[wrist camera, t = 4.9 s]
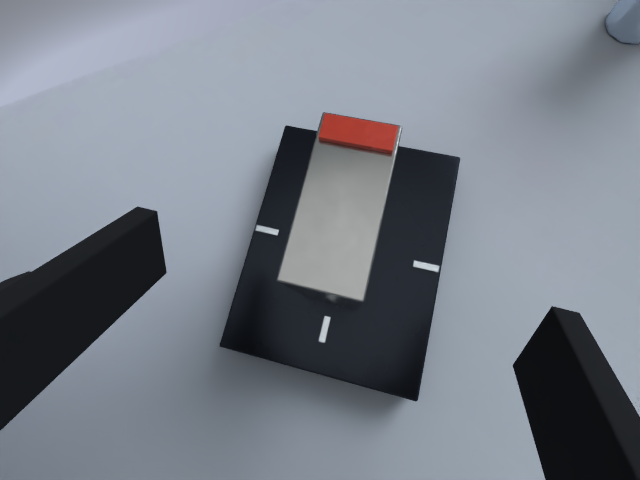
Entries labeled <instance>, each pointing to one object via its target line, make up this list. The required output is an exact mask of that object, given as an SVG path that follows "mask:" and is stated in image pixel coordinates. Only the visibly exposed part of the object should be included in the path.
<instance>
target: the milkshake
mask: <svg viewBox="0 0 640 480" xmlns="http://www.w3.org/2000/svg"><path fill="white" fill-rule="evenodd" d="M605 23H606V26H607V30H608V33H609V34H610V35H612V36H613V37H614V38H616V39H617V40H619V41H620V42H624V43H631V44H639V43H640V0H618V1H617V3H616V4H615V5H614V7H613V8H612V9H611V11H610V13H609V15H608V17H607V18H606V20H605Z"/></svg>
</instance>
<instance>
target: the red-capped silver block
mask: <svg viewBox="0 0 640 480" xmlns="http://www.w3.org/2000/svg"><path fill="white" fill-rule="evenodd" d="M401 132H402V126H399V125H393V124H388V123H382V122H376V121H371V120H365V119H359V118H353V117H348V116H342V115H336V114H331V113H325V112H324V113H323V114H322V117H321V120H320V124H319V128H318V131H317V135H316V139H315V142H314V146H313V149H312V153H311V157H310V160H309V164H308V167H307V171H306V175H305V178H304V182H303V186H302V189H301V193H300V196H299V200H298V204H297V207H296V211H295V214H294V218H293V222H292V225H291V229H290V232H289V236H288V240H287V243H286V247H285V251H284V254H283V258H282V261H281V265H280V269H279V272H278V276H277V281H278V282H280V283H281V284H283V285H285V286H287V287H288V288H290V289H292V290H294V291H295V292H297V293H299V294H301V295H302V296H304V297H306V298H310V299H314V300H318V301H322V302H326V303H330V304H334V305H338V306H342V307H346V308H350V309H354V310H358V308H359V307H360V306H361V305H362V303H363V302H364V301H365V296H366V291H367V287H368V282H369V278H370V273H371V269H372V264H373V260H374V255H375V250H376V246H377V241H378V237H379V232H380V228H381V223H382V218H383V214H384V209H385V205H386V200H387V196H388V191H389V187H390V182H391V177H392V173H393V168H394V164H395V159H396V155H397V150H398V145H399V141H400V136H401Z"/></svg>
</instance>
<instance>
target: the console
mask: <svg viewBox="0 0 640 480" xmlns="http://www.w3.org/2000/svg"><path fill="white" fill-rule="evenodd" d="M316 135H317V131H313V130H307V129H302V128H297V127H291V126H285V129H284V132H283V136H282V139H281V142H280V146H279V149H278V152H277V156H276V159H275V162H274V166H273V169H272V172H271V176H270V179H269V182H268V186H267V189H266V192H265V196H264V199H263V202H262V206H261V209H260V212H259V216H258V219H257V222H256V226H255V229H254V232H253V236H252V239H251V242H250V246H249V249H248V252H247V256H246V259H245V262H244V266H243V269H242V272H241V276H240V279H239V282H238V286H237V289H236V292H235V296H234V299H233V302H232V306H231V309H230V312H229V316H228V319H227V322H226V326H225V329H224V332H223V336H222V339H221V342H220V346H221V347H223V348H227V349H231V350H234V351H238V352H241V353H245V354H249V355H252V356H256V357H259V358H263V359H266V360H270V361H274V362H277V363H281V364H284V365H288V366H291V367H295V368H299V369H302V370H306V371H309V372H313V373H316V374H320V375H324V376H327V377H331V378H334V379H338V380H341V381H345V382H349V383H352V384H356V385H359V386H363V387H366V388H370V389H374V390H377V391H381V392H384V393H388V394H391V395H395V396H399V397H402V398H406V399H409V400H413V401H417V400H418V396H419V390H420V385H421V379H422V373H423V368H424V362H425V356H426V351H427V345H428V339H429V333H430V328H431V322H432V316H433V311H434V305H435V299H436V294H437V288H438V282H439V277H440V271H441V265H442V259H443V254H444V248H445V242H446V237H447V231H448V225H449V220H450V214H451V208H452V203H453V197H454V191H455V185H456V180H457V174H458V168H459V163H460V158H459V157H455V156H449V155H444V154H438V153H433V152H427V151H422V150H416V149H411V148H406V147H400V146H398V150H397V155H396V159H395V164H394V168H393V173H392V177H391V182H390V187H389V191H388V196H387V200H386V205H385V209H384V214H383V218H382V223H381V228H380V232H379V237H378V241H377V246H376V250H375V255H374V260H373V264H372V269H371V273H370V278H369V282H368V287H367V291H366V296H365V301H364V302H363V303H362V305H361V306H360V307H359V308H358V310H354V309H350V308H346V307H342V306H338V305H334V304H330V303H326V302H322V301H318V300H314V299H310V298H306V297H304V296H302V295H301V294H299V293H297V292H295V291H294V290H292V289H290V288H288V287H287V286H285V285H283V284H281V283H280V282H278V281H277V276H278V272H279V269H280V265H281V261H282V258H283V254H284V251H285V247H286V243H287V240H288V236H289V232H290V229H291V225H292V222H293V218H294V214H295V211H296V207H297V204H298V200H299V196H300V193H301V189H302V186H303V182H304V178H305V175H306V171H307V167H308V164H309V160H310V157H311V153H312V149H313V146H314V142H315V139H316Z"/></svg>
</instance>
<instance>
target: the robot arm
mask: <svg viewBox="0 0 640 480" xmlns="http://www.w3.org/2000/svg"><path fill="white" fill-rule="evenodd" d="M165 274H166V266H165V260H164V254H163V247H162V241H161V234H160V228H159V221H158V215H157V211H154V210H149V209H145V208H141V207H136V208H135V209H133V210H131V211H130V212H128V213H126V214H125V215H123V216H122V217H120V218H118V219H117V220H115V221H113V222H112V223H110V224H109V225H107V226H105V227H104V228H102V229H100V230H99V231H97V232H96V233H94V234H92V235H91V236H89V237H87V238H86V239H84V240H83V241H81V242H79V243H78V244H76V245H74V246H73V247H71V248H70V249H68V250H66V251H65V252H63V253H61V254H60V255H58V256H57V257H55V258H53V259H52V260H50V261H49V262H47V263H45V264H44V265H42V266H40V267H39V268H37V269H36V270H34V271H32V272H29V271H28V272H26V273H23V274H20V275H18V276H15V277H12V278H10V279H7V280H4V281H3V282H1V283H0V430H1V429H3V428H4V427H5V426H6V425H7V424H8V423H9V422H10V421H11V420H12V419H13V418H14V417H15V416H16V415H17V414H18V413H19V412H20V411H21V410H23V409H24V408H25V407H26V406H27V405H28V404H29V403H30V402H31V401H32V400H33V399H34V398H35V397H36V396H37V395H38V394H39V393H40V392H41V391H43V390H44V389H45V388H46V387H47V386H48V385H49V384H50V383H51V382H52V381H53V380H54V379H55V378H56V377H57V376H58V375H59V374H60V373H61V372H63V371H64V370H65V369H66V368H67V367H68V366H69V365H70V364H71V363H72V362H73V361H74V360H75V359H76V358H77V357H78V356H79V355H80V354H81V353H83V352H84V351H85V350H86V349H87V348H88V347H89V346H90V345H91V344H92V343H93V342H94V341H95V340H96V339H97V338H98V337H99V336H100V335H101V334H103V333H104V332H105V331H106V330H107V329H108V328H109V327H110V326H111V325H112V324H113V323H114V322H115V321H116V320H117V319H118V318H119V317H120V316H121V315H123V314H124V313H125V312H126V311H127V310H128V309H129V308H130V307H131V306H132V305H133V304H134V303H135V302H136V301H137V300H138V299H139V298H140V297H141V296H143V295H144V294H145V293H146V292H147V291H148V290H149V289H150V288H151V287H152V286H153V285H154V284H155V283H156V282H157V281H158V280H159V279H160V278H161V277H163V276H164V275H165ZM513 368H514V371H515V375H516V378H517V382H518V385H519V389H520V392H521V395H522V399H523V402H524V406H525V409H526V413H527V416H528V420H529V423H530V427H531V430H532V434H533V437H534V441H535V444H536V448H537V451H538V455H539V458H540V462H541V465H542V469H543V472H544V476H545V479H546V480H640V417H639V415H638V413H637V411H636V410H635V408H634V406H633V405H632V403H631V401H630V399H629V398H628V396H627V394H626V392H625V391H624V389H623V387H622V386H621V384H620V382H619V380H618V379H617V377H616V375H615V373H614V372H613V370H612V368H611V367H610V365H609V363H608V361H607V360H606V358H605V356H604V355H603V353H602V351H601V349H600V348H599V346H598V344H597V342H596V341H595V339H594V337H593V336H592V334H591V332H590V330H589V329H588V327H587V325H586V323H585V322H584V320H583V318H582V317H581V315H580V313H578V312H573V311H569V310H565V309H561V308H557V307H553V306H552V307H551V309H550V310H549V312H548V313H547V315H546V316H545V318H544V319H543V321H542V322H541V324H540V325H539V327H538V328H537V330H536V331H535V333H534V334H533V336H532V337H531V339H530V340H529V342H528V343H527V345H526V346H525V348H524V349H523V351H522V352H521V354H520V355H519V357H518V358H517V360H516V361H515V363H514V364H513Z"/></svg>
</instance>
